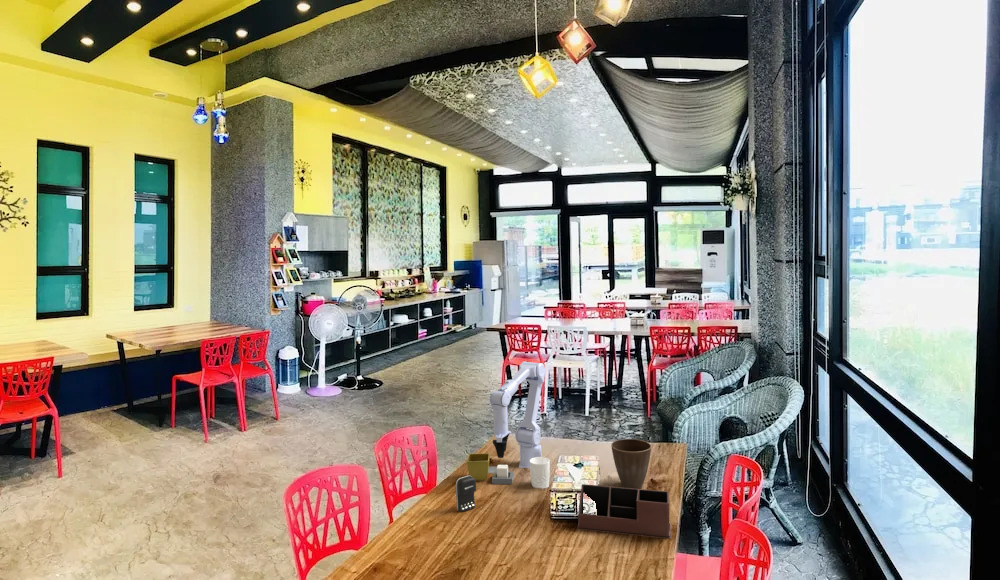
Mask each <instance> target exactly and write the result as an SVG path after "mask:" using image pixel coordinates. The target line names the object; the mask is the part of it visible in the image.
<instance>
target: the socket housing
mask: <svg viewBox="0 0 1000 580" xmlns="http://www.w3.org/2000/svg"><path fill="white" fill-rule="evenodd" d="M492 474H493V475H492V478H491V485H513V482H514V477H515V471H509V470H508V478H497V471H494V473H492Z"/></svg>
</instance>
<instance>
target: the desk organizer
mask: <svg viewBox="0 0 1000 580" xmlns="http://www.w3.org/2000/svg"><path fill="white" fill-rule="evenodd" d="M583 491H584V492H585V494H587V496H588V497H590V498H591V499H592V500H593V501H595V503H596V509H597V516H596V515H587V514H583ZM577 515H578V517H577V519H578V520H577V521H578V522H577V523H578V524H577V527H576V530H584V531H593V532H602V533H603V532H604V533H612V534H621V535H630V536H639V537H649V538H657V539H667V540H672V524H671V522H670V492H669V491H668V490H667V491H666V490H655V489H645V488H644V489H643V488H640V489H633V488H624V487H620V486H619V487H617V486H609V485H608V486H607V485H599V484H598V485H597V484H586V483H585V484H584V483H583V484H582V483H581V488H580V496H579V503H578V511H577Z"/></svg>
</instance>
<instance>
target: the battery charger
mask: <svg viewBox="0 0 1000 580" xmlns="http://www.w3.org/2000/svg"><path fill="white" fill-rule="evenodd" d="M455 481H456V482H455V498H456V511H458V512H463V513H464V512H467V511H470V510H473V509H475V508H476V502H475V501H476V500H475V492H477V481H475V479H474V478H473V477H472V476H470V475H469V474H468V475H465V476H462V477H461V476H460V477H459V478H457V479H456V480H455Z"/></svg>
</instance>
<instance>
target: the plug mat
mask: <svg viewBox="0 0 1000 580" xmlns="http://www.w3.org/2000/svg"><path fill="white" fill-rule="evenodd" d="M497 466H498V465H497ZM497 466H490V465H489V469H488V474H494V471H497ZM509 470H510V466H508V471H509Z"/></svg>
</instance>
